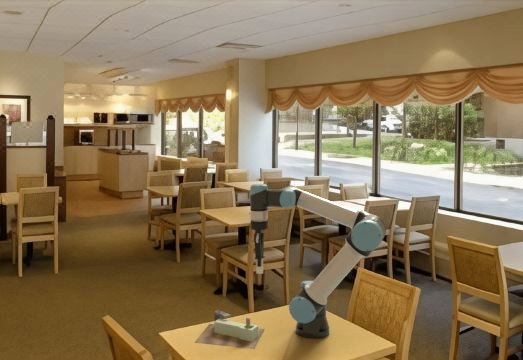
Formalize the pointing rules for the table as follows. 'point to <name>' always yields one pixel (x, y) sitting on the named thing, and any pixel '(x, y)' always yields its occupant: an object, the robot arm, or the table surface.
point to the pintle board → (225, 340)
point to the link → (236, 329)
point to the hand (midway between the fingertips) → (259, 273)
